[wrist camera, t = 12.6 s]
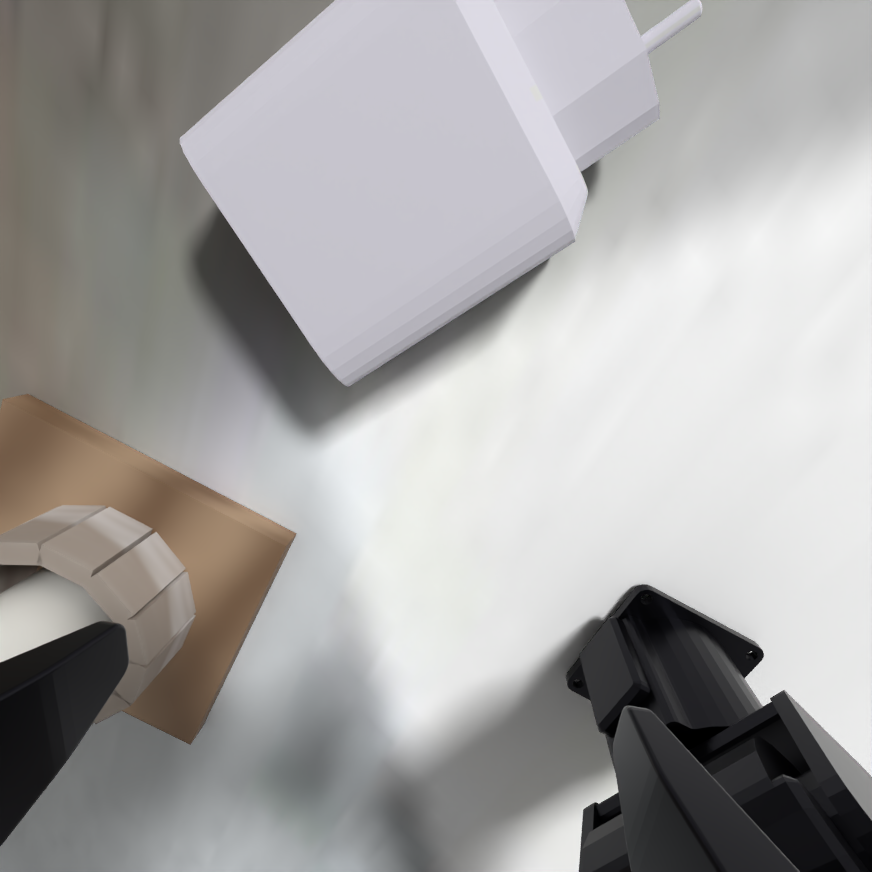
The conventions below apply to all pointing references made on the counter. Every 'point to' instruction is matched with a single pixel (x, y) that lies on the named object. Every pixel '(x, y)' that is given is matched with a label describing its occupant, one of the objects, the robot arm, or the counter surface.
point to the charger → (421, 156)
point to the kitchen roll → (43, 612)
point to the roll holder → (136, 556)
